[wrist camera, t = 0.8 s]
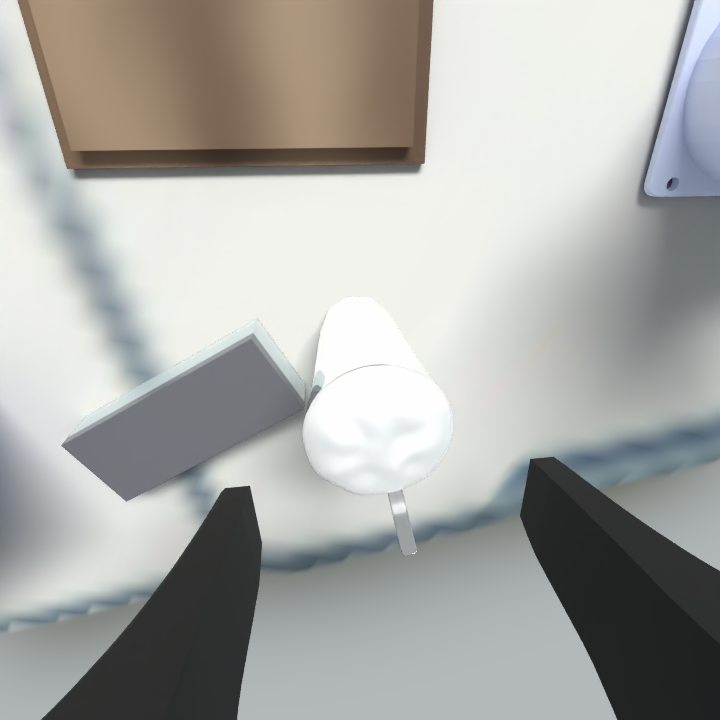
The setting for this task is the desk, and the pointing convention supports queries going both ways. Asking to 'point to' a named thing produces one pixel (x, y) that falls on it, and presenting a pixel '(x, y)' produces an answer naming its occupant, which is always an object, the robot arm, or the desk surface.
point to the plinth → (234, 81)
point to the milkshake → (373, 410)
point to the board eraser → (189, 412)
